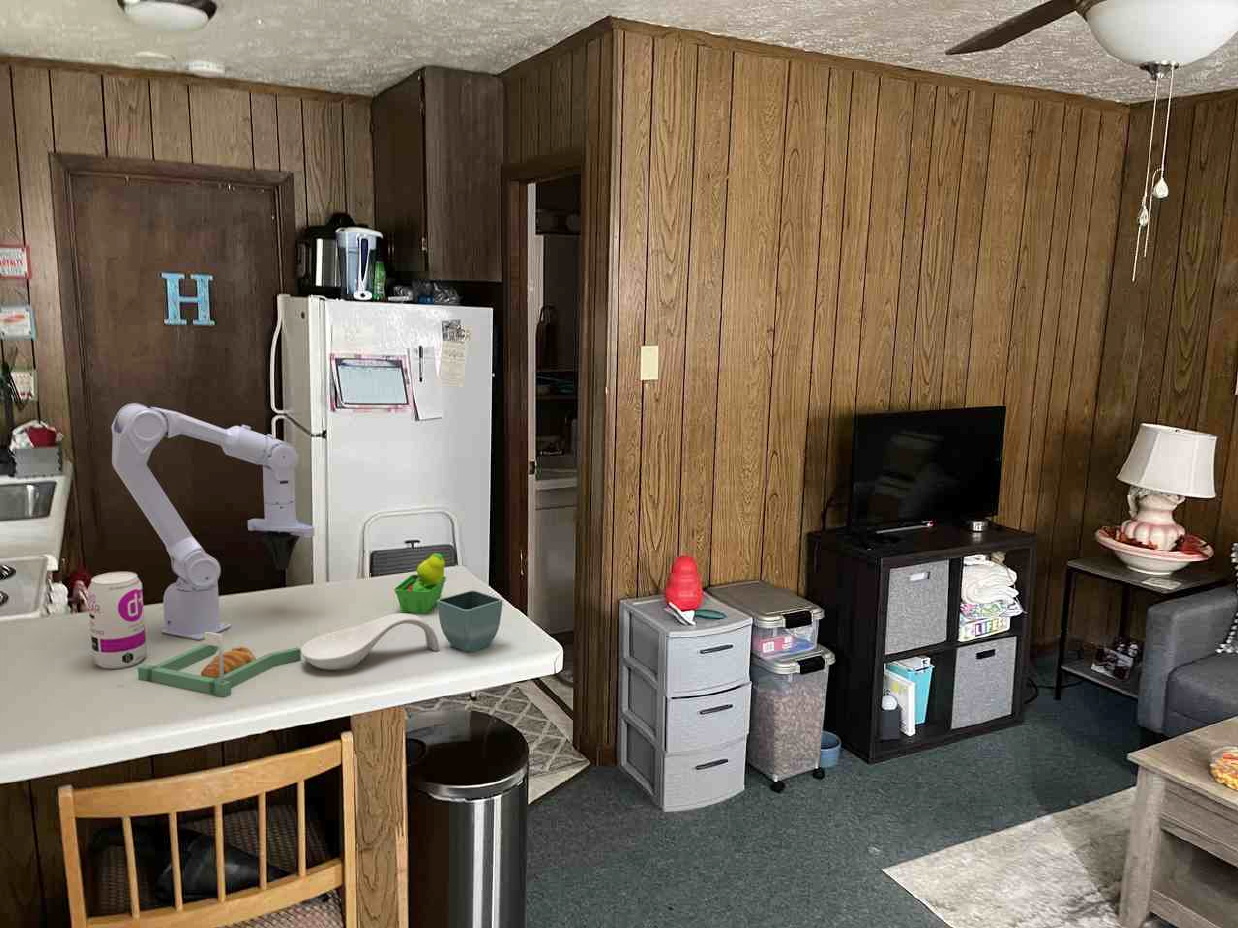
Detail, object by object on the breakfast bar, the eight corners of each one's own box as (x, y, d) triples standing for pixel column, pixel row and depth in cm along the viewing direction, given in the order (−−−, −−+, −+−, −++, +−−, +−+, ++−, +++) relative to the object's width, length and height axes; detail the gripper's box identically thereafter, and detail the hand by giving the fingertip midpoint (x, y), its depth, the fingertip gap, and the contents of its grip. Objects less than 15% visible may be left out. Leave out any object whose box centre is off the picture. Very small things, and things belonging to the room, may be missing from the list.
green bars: (135, 678, 162) (131, 620, 161) (217, 642, 179) (214, 589, 177) (227, 697, 156) (224, 637, 154) (303, 658, 172) (301, 604, 170)
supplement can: (157, 656, 172) (152, 573, 169) (119, 673, 164) (113, 587, 162) (121, 649, 175) (115, 568, 172) (82, 666, 167) (75, 581, 164)
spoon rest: (310, 683, 163) (309, 641, 161) (294, 659, 173) (292, 620, 171) (446, 658, 175) (446, 619, 173) (423, 637, 185) (423, 601, 183)
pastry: (223, 689, 159) (221, 667, 159) (189, 683, 162) (188, 661, 161) (261, 668, 168) (260, 647, 167) (230, 663, 170) (228, 642, 170)
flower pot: (435, 646, 180) (435, 599, 178) (473, 634, 186) (473, 589, 184) (465, 659, 174) (465, 610, 172) (504, 646, 180) (504, 599, 178)
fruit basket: (412, 596, 208) (411, 544, 206) (453, 599, 207) (452, 547, 205) (393, 614, 197) (392, 559, 195) (435, 616, 195) (435, 562, 193)
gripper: (323, 501, 192) (325, 568, 194) (264, 494, 197) (267, 559, 199) (299, 508, 185) (302, 577, 188) (238, 500, 191) (242, 568, 193)
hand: (282, 568), depth 193 cm, fingers closed
